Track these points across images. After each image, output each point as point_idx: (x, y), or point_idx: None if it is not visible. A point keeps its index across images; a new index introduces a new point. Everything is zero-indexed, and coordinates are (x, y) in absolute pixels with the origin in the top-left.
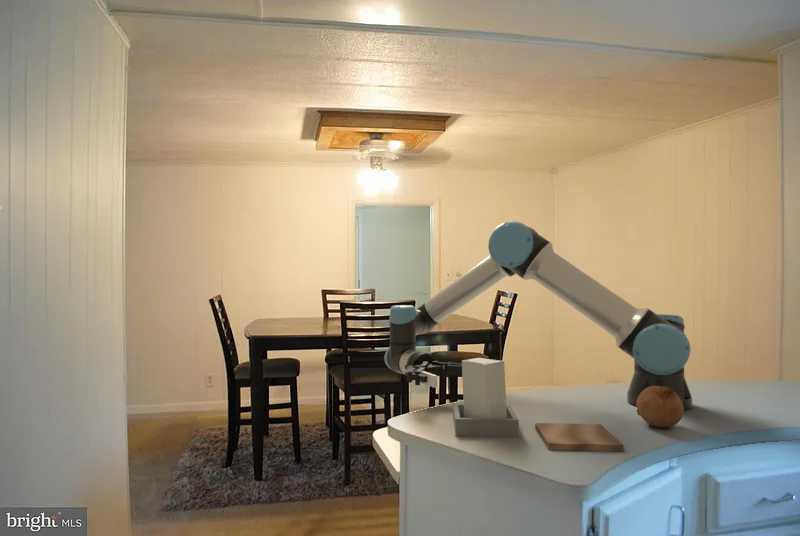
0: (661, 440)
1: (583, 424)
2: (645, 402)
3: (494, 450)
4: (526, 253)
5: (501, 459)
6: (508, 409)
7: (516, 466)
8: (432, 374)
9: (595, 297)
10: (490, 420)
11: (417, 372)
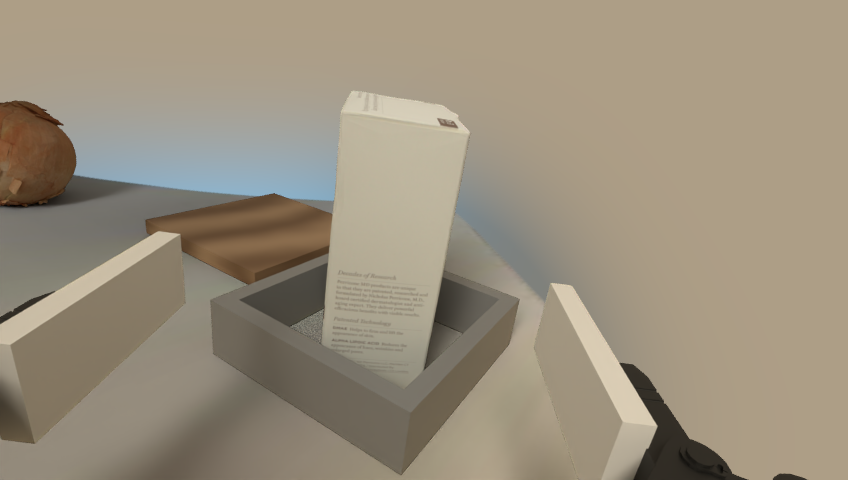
0: (157, 192)
1: (178, 230)
2: (55, 147)
3: (470, 271)
4: None
5: (485, 254)
6: (286, 279)
7: (479, 239)
8: (571, 310)
9: None
10: None
11: (697, 446)
